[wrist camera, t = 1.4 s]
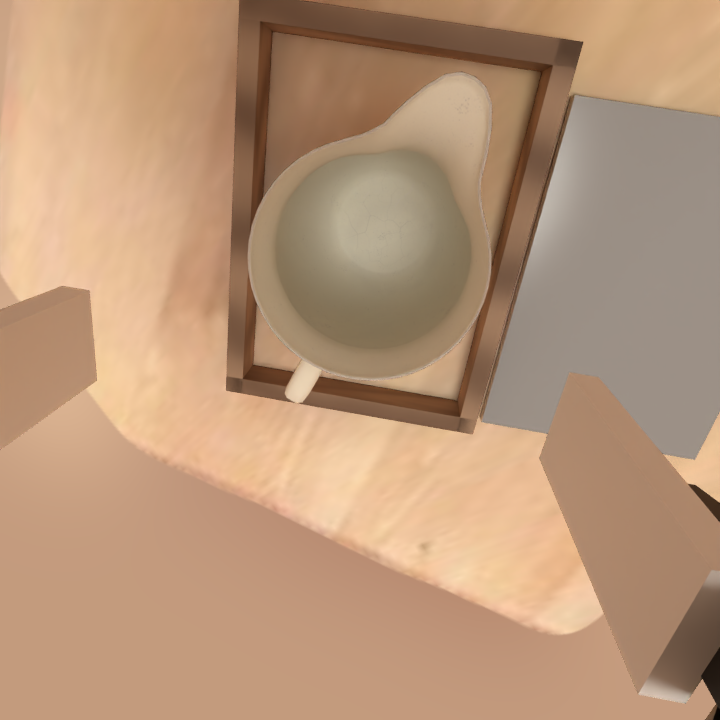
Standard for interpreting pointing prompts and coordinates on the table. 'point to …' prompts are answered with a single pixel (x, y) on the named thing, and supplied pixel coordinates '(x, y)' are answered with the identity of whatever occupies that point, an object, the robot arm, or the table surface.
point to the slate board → (621, 276)
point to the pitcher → (379, 241)
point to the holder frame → (558, 64)
